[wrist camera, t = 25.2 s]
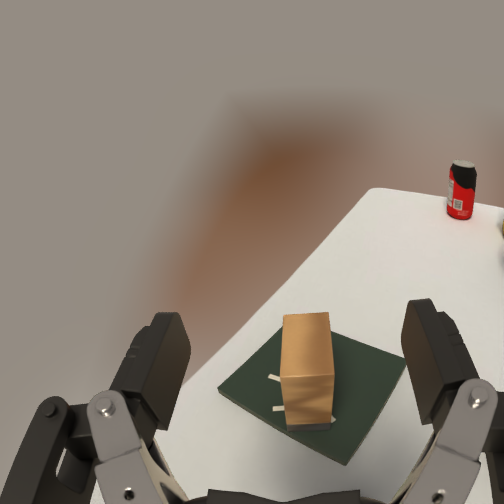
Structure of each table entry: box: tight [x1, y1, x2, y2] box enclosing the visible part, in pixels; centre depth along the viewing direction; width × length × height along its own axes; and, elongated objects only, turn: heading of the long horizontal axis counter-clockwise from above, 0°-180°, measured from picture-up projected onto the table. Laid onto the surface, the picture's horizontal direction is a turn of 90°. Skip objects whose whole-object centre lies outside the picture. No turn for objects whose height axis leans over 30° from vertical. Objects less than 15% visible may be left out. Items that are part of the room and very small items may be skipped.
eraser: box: [280, 312, 335, 432], centre depth 27 cm, size 4×7×9 cm, turn 174°
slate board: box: [217, 326, 407, 466], centre depth 32 cm, size 16×14×1 cm
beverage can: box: [447, 160, 477, 220], centre depth 56 cm, size 6×6×12 cm
